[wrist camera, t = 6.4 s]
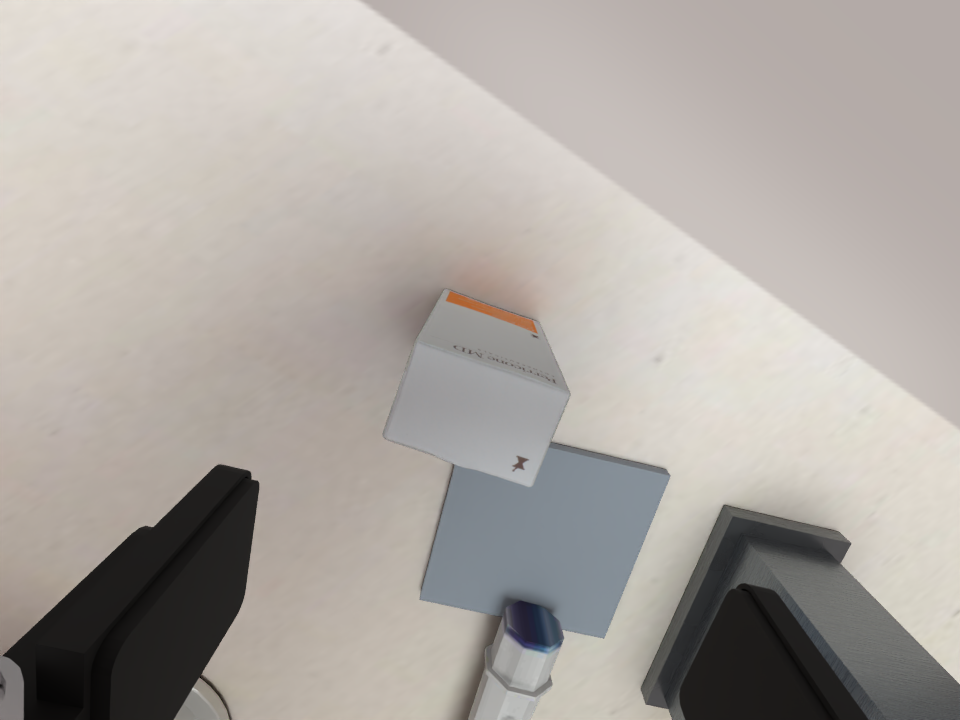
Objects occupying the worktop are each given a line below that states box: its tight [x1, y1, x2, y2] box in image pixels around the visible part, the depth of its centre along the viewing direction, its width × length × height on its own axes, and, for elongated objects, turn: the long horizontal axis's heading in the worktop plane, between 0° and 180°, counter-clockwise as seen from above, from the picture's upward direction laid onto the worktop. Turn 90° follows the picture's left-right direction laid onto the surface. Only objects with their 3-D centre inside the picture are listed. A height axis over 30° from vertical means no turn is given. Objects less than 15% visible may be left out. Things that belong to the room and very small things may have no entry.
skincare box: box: [383, 289, 570, 487], centre depth 24 cm, size 6×4×12 cm
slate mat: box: [420, 443, 670, 638], centre depth 33 cm, size 13×13×1 cm
